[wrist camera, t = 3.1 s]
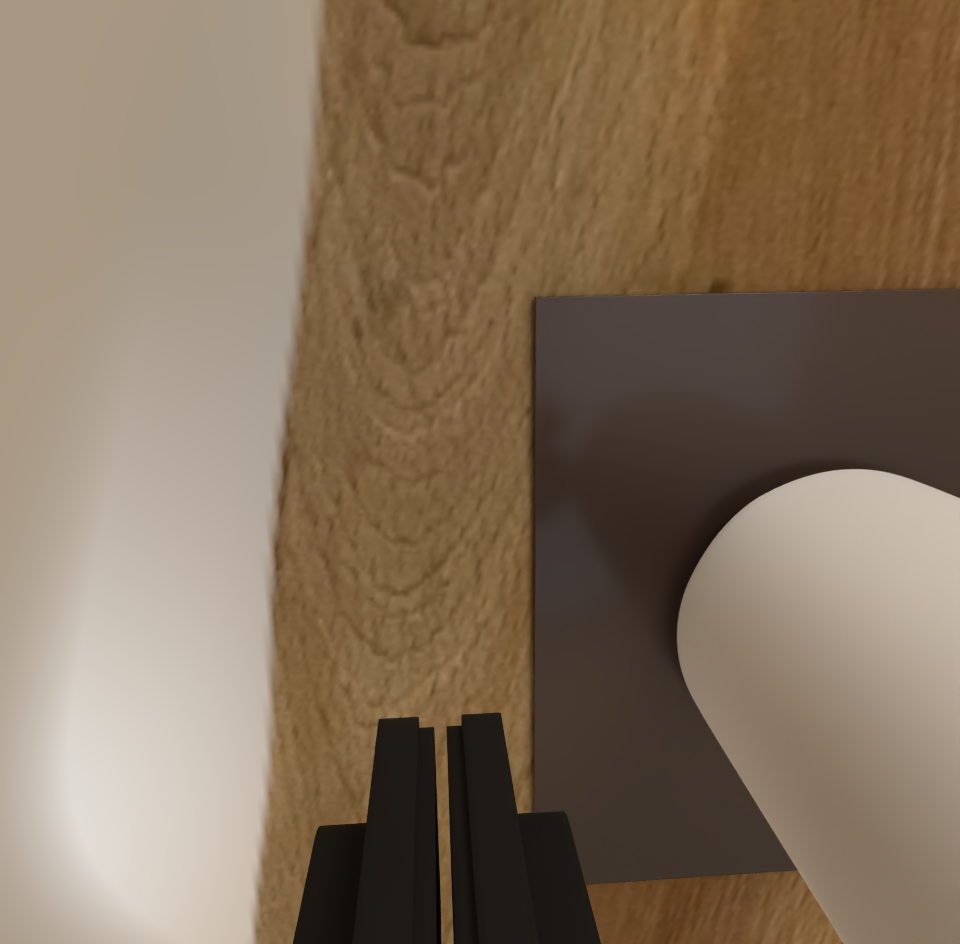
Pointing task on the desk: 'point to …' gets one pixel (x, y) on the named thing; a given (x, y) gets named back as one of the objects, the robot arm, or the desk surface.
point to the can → (842, 690)
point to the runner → (694, 528)
